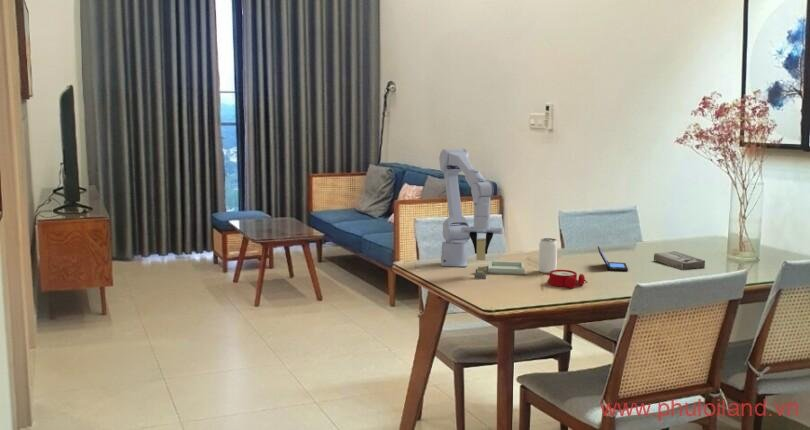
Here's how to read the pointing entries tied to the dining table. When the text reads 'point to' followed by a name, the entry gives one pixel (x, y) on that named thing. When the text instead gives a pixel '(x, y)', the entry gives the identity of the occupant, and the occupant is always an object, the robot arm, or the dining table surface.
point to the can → (547, 255)
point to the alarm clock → (565, 278)
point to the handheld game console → (613, 264)
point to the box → (679, 260)
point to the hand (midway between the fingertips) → (481, 253)
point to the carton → (481, 248)
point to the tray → (506, 267)
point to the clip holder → (480, 273)
